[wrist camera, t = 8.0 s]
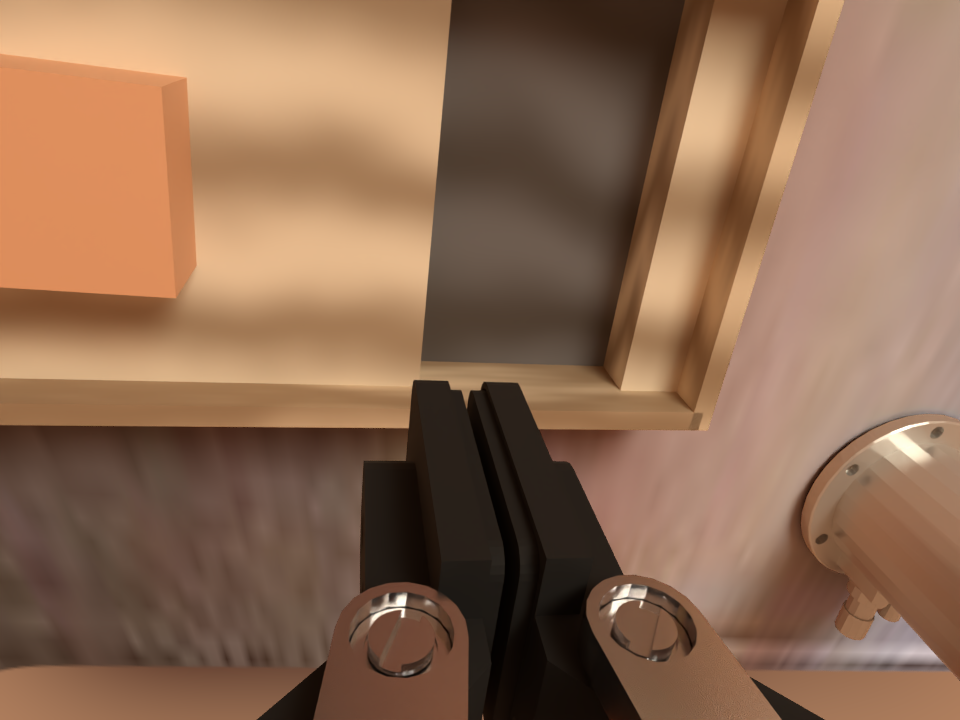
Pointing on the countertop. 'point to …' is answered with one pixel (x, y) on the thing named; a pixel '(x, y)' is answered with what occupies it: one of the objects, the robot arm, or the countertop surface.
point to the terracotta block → (94, 179)
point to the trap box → (433, 208)
